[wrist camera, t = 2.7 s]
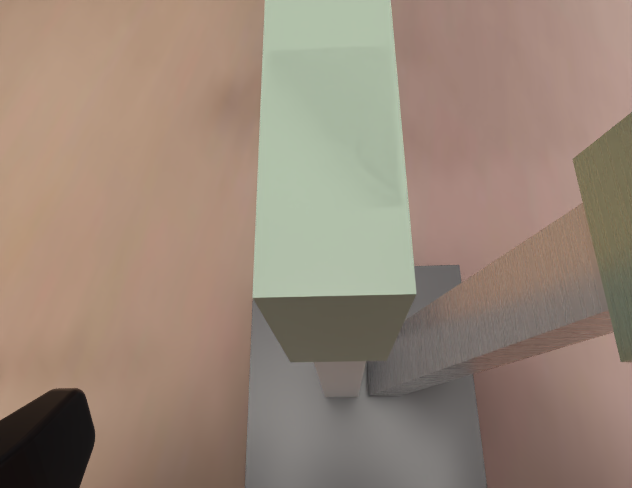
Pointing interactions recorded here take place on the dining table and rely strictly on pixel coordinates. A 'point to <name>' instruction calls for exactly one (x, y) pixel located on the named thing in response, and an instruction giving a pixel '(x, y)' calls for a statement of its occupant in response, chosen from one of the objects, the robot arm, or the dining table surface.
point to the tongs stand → (341, 268)
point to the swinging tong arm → (532, 288)
